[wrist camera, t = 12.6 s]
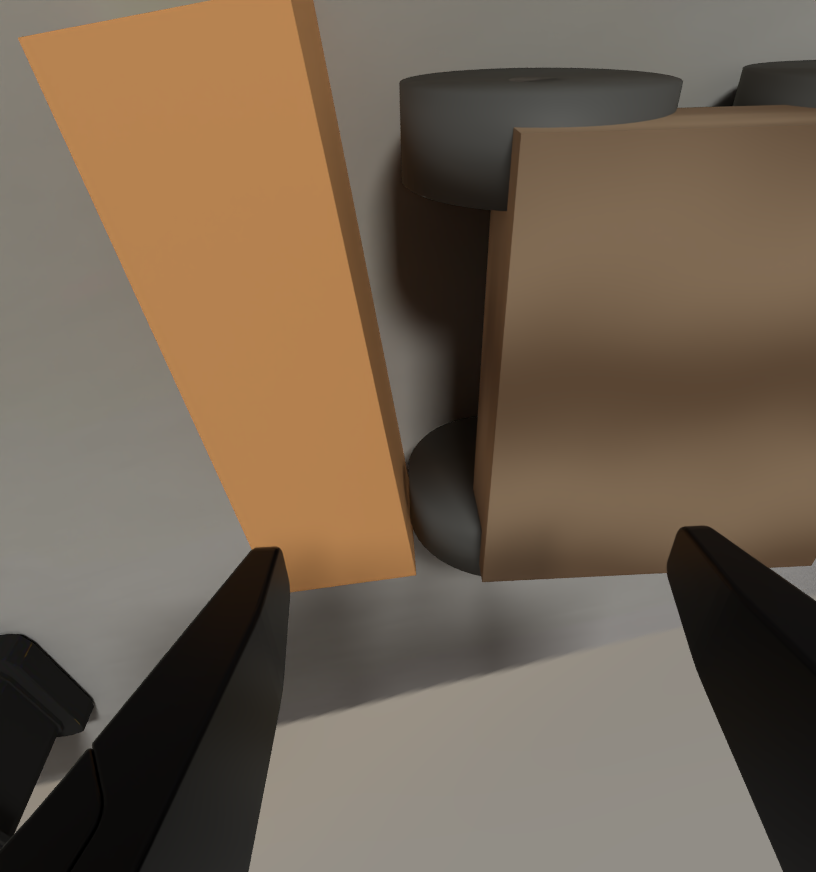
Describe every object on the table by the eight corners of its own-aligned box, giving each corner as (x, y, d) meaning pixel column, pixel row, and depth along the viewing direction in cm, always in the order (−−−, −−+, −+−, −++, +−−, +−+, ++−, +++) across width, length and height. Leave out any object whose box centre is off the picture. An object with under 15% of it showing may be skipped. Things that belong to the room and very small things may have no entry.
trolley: (756, 445, 23) (868, 573, 18) (406, 461, 23) (415, 596, 18) (921, 57, 15) (1201, 81, 10) (395, 71, 15) (406, 104, 10)
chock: (312, -8, 14) (287, -15, 10) (409, 479, 24) (416, 575, 20) (116, 29, 15) (17, 37, 11) (289, 496, 24) (272, 594, 20)
